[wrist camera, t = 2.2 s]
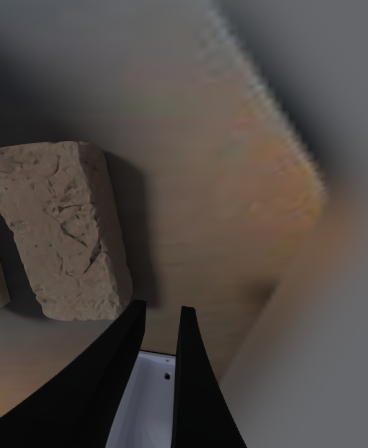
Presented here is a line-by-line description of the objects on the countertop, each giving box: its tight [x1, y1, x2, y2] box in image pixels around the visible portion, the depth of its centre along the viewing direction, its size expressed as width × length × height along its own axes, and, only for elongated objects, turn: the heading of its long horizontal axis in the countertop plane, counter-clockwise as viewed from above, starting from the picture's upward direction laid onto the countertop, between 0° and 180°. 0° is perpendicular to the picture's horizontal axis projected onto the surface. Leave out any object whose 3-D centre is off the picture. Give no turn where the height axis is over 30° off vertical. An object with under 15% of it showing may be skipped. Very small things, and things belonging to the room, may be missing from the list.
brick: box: [0, 141, 133, 322], centre depth 16 cm, size 16×8×5 cm, turn 5°
